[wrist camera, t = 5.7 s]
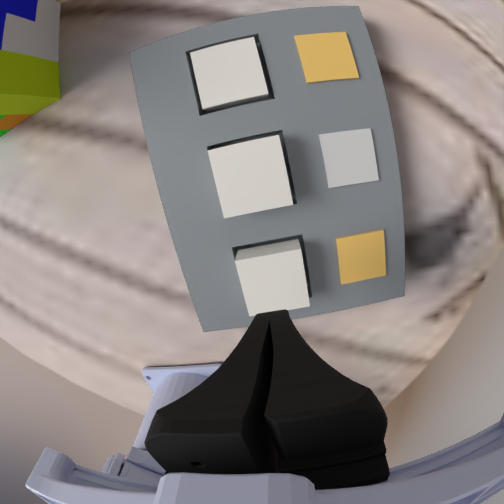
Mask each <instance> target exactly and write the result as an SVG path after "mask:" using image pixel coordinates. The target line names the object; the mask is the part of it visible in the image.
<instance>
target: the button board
mask: <svg viewBox="0 0 504 504" xmlns="http://www.w3.org/2000/svg"><path fill="white" fill-rule="evenodd" d="M251 37H254V40H255V43H256V47H257V51H258V55H259V58H260V62H261V66H262V70H263V74H264V78H265V82H266V86H267V90H268V99H265V100H260V101H255V102H250V103H246V104H241V105H237V106H232V107H228V108H224V109H220V110H216V111H212V112H207V111H205V110H203V109H202V105H201V100H200V96H199V91H198V87H197V82H196V78H195V73H194V69H193V64H192V60H191V55H190V53H191V52H194V51H198V50H201V49H205V48H208V47H212V46H216V45H220V44H224V43H228V42H232V41H237V40H241V39H246V38H251ZM129 55H130V61H131V67H132V73H133V79H134V84H135V90H136V95H137V100H138V105H139V110H140V115H141V119H142V124H143V129H144V133H145V138H146V142H147V146H148V151H149V155H150V159H151V163H152V167H153V171H154V175H155V179H156V183H157V186H158V190H159V194H160V198H161V201H162V205H163V209H164V212H165V216H166V219H167V223H168V226H169V229H170V233H171V236H172V239H173V243H174V246H175V249H176V252H177V256H178V259H179V262H180V265H181V268H182V271H183V274H184V277H185V280H186V283H187V286H188V289H189V292H190V295H191V298H192V301H193V304H194V307H195V310H196V313H197V315H198V318H199V321H200V324H201V326H202V329H203V332H209V331H217V330H225V329H233V328H240V327H247V326H250V324H251V322H252V320H253V319H254V317H255V316H249V313H248V310H247V306H246V302H245V298H244V295H243V291H242V287H241V283H240V279H239V275H238V272H237V268H236V264H235V259H236V255H237V252H238V250H241V249H247V248H252V247H257V246H263V245H268V244H273V243H279V242H284V241H289V240H295V239H298V240H299V244H300V247H301V252H302V258H303V264H304V270H305V276H306V283H307V289H308V296H309V303H310V306H309V307H304V308H298V309H292V310H288V311H289V316H290V318H291V320H292V319H298V318H303V317H309V316H314V315H319V314H325V313H330V312H335V311H340V310H345V309H349V308H354V307H359V306H363V305H368V304H372V303H377V302H381V301H385V300H389V299H393V298H398V297H402V296H404V295H405V236H404V216H403V203H402V191H401V181H400V173H399V165H398V157H397V151H396V144H395V138H394V132H393V127H392V121H391V116H390V111H389V107H388V102H387V97H386V93H385V89H384V85H383V81H382V77H381V73H380V69H379V66H378V62H377V59H376V55H375V52H374V49H373V46H372V43H371V39H370V36H369V33H368V30H367V28H366V25H365V22H364V19H363V16H362V14H361V11H360V9H359V6H326V7H309V8H297V9H288V10H280V11H272V12H266V13H260V14H254V15H249V16H243V17H239V18H234V19H229V20H225V21H221V22H217V23H213V24H209V25H206V26H202V27H198V28H195V29H192V30H188V31H185V32H182V33H179V34H176V35H173V36H170V37H167V38H165V39H162V40H159V41H156V42H154V43H151V44H149V45H146V46H144V47H141V48H139V49H136V50H134V51H132V52H129ZM275 135H279V137H280V142H281V146H282V151H283V156H284V161H285V166H286V170H287V175H288V180H289V185H290V191H291V196H292V201H293V205H290V206H284V207H279V208H274V209H269V210H264V211H259V212H253V213H248V214H244V215H239V216H234V217H229V218H224V216H223V212H222V208H221V204H220V200H219V196H218V192H217V188H216V184H215V180H214V176H213V171H212V167H211V163H210V159H209V155H208V150H212V149H216V148H220V147H224V146H228V145H233V144H237V143H241V142H246V141H251V140H255V139H260V138H265V137H270V136H275Z"/></svg>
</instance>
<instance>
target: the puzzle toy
mask: <svg viewBox="0 0 504 504" xmlns="http://www.w3.org/2000/svg"><path fill="white" fill-rule="evenodd" d="M60 10H61V3H60V2H58V1H56V0H0V137H1V136H2V135H3V134H5V133H6V132H8V131H9V130H10V129H12V128H13V127H15V126H16V125H18V124H19V123H21V122H22V121H24V120H25V119H27V118H28V117H30V116H32V115H33V114H35V113H36V112H38V111H40V110H41V109H43V108H45V107H47V106H48V105H50V104H52V103H54V102H55V101H57V100H59V99H61V96H60V80H59V25H60Z"/></svg>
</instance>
